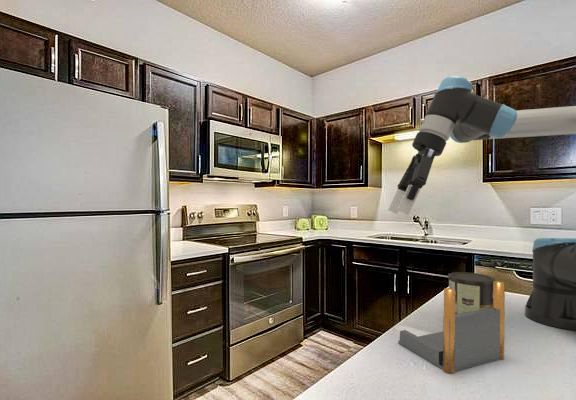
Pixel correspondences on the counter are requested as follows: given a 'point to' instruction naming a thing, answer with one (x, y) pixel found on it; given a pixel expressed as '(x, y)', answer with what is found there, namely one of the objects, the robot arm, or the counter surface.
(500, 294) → the keeper bracket
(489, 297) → the coffee can
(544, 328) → the counter surface
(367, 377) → the counter surface
